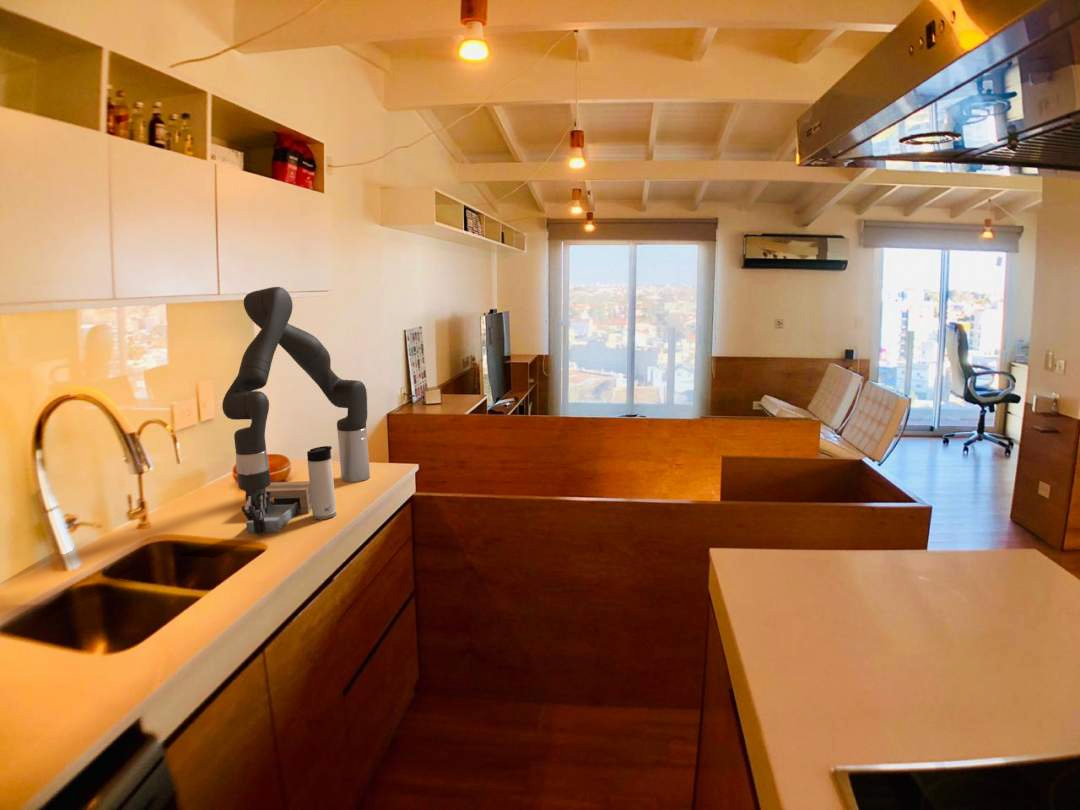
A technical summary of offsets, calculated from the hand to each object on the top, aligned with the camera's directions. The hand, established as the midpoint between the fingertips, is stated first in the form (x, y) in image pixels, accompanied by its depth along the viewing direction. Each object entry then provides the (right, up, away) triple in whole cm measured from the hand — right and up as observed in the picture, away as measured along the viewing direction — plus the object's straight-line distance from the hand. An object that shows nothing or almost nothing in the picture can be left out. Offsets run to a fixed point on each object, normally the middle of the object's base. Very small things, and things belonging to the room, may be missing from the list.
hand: (260, 533), depth 164 cm
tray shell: (-1, +1, +10) cm, 10 cm away
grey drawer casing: (-1, +3, +19) cm, 20 cm away
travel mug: (+12, +2, +13) cm, 18 cm away
